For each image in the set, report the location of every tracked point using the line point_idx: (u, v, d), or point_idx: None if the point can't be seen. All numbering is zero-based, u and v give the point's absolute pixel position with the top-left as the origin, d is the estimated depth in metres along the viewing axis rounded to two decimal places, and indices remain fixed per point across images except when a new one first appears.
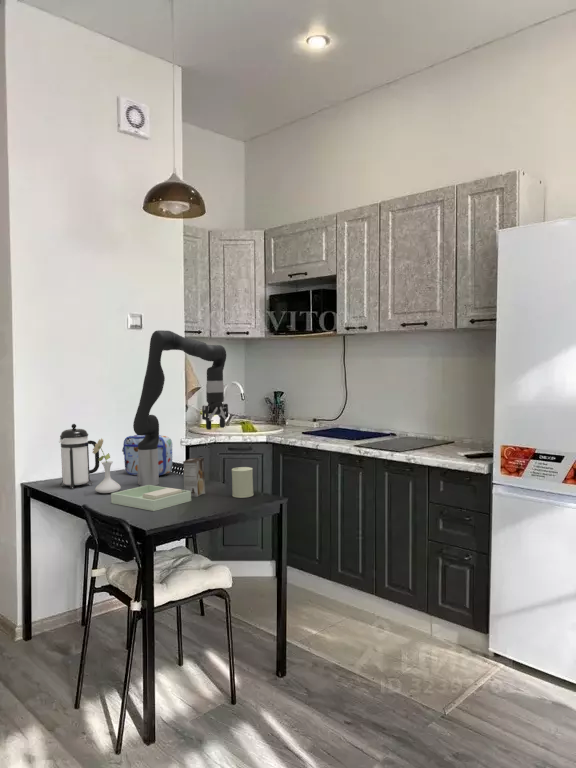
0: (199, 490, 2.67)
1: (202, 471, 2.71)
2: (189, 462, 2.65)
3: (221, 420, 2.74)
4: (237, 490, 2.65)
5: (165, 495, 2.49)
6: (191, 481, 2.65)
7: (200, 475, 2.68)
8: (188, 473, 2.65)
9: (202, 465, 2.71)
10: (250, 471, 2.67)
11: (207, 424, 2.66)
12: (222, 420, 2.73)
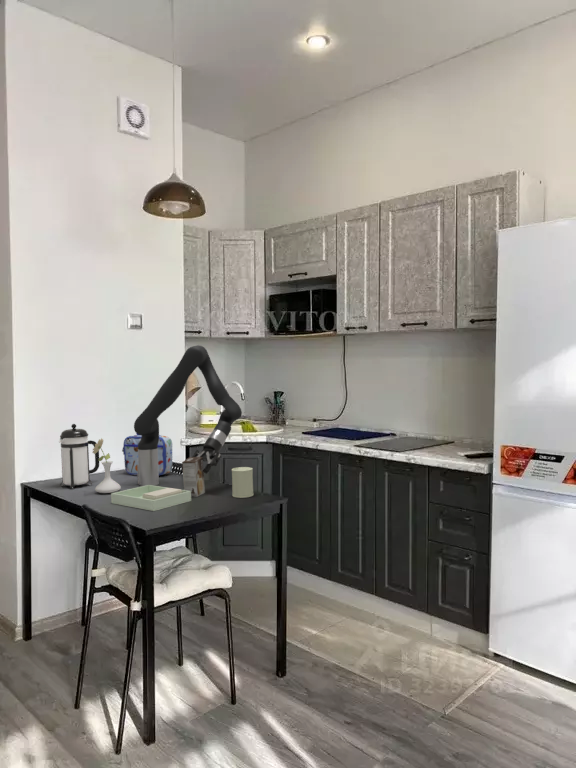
0: (199, 490, 2.67)
1: (201, 470, 2.70)
2: (188, 463, 2.64)
3: None
4: (237, 490, 2.65)
5: (165, 495, 2.49)
6: (191, 481, 2.65)
7: (199, 475, 2.67)
8: (187, 474, 2.65)
9: (201, 464, 2.70)
10: (250, 471, 2.67)
11: (209, 468, 2.70)
12: None
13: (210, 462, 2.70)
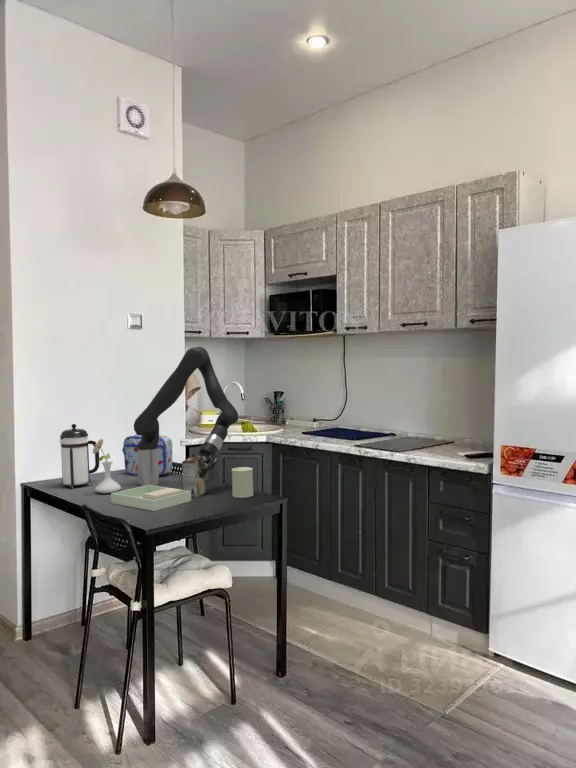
0: (199, 490, 2.66)
1: (201, 470, 2.70)
2: (188, 463, 2.64)
3: None
4: (237, 490, 2.65)
5: (165, 495, 2.49)
6: (190, 481, 2.64)
7: None
8: (187, 474, 2.64)
9: (201, 464, 2.69)
10: (250, 471, 2.67)
11: (205, 473, 2.68)
12: None
13: (206, 467, 2.68)
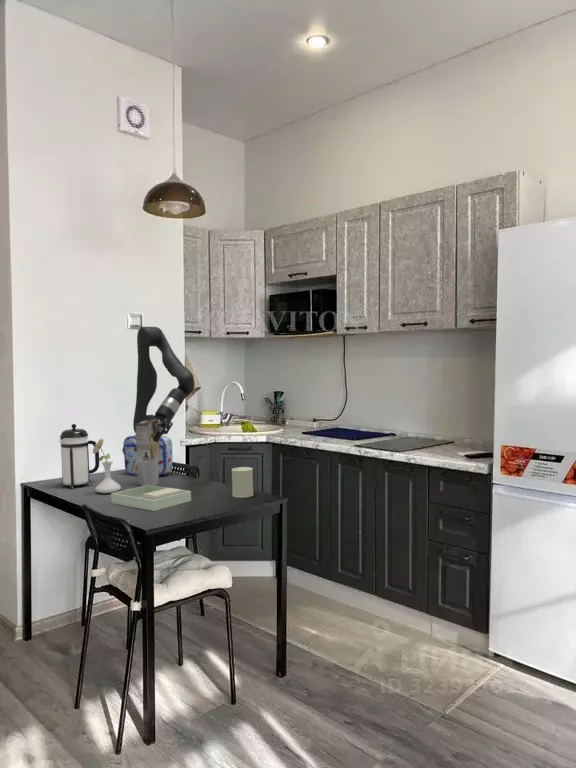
0: (153, 454, 2.58)
1: None
2: (141, 425, 2.55)
3: None
4: (237, 490, 2.65)
5: (165, 495, 2.49)
6: (144, 444, 2.56)
7: None
8: (140, 437, 2.56)
9: (156, 427, 2.61)
10: (250, 471, 2.67)
11: (159, 436, 2.59)
12: None
13: (161, 430, 2.60)
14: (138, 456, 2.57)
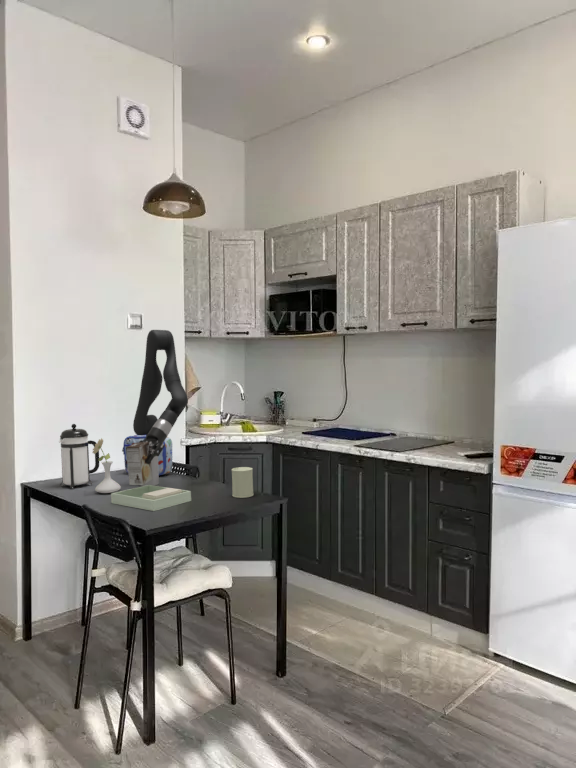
0: (144, 476, 2.56)
1: (147, 456, 2.60)
2: (132, 448, 2.54)
3: None
4: (237, 490, 2.65)
5: (165, 495, 2.49)
6: (135, 467, 2.55)
7: (144, 460, 2.57)
8: (131, 460, 2.54)
9: (147, 450, 2.60)
10: (250, 471, 2.67)
11: (151, 459, 2.58)
12: None
13: (152, 452, 2.58)
14: (130, 479, 2.56)
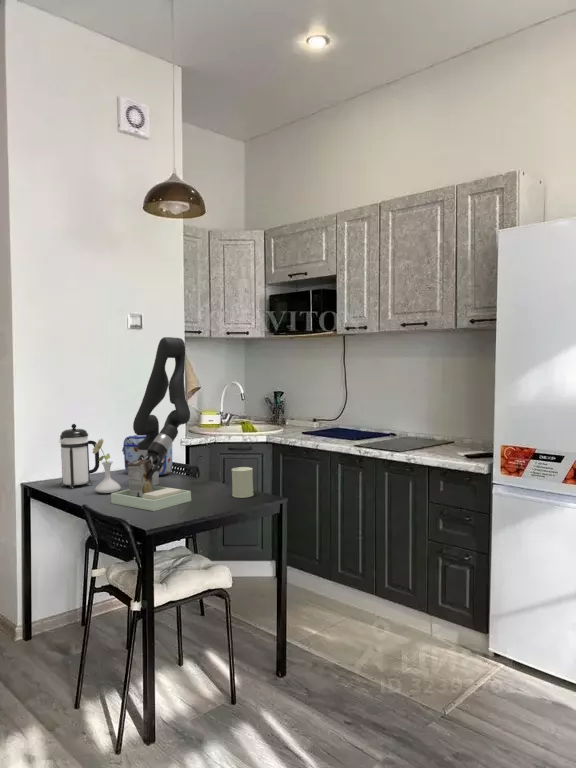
0: None
1: None
2: (133, 465, 2.55)
3: None
4: (237, 490, 2.65)
5: (165, 495, 2.49)
6: (136, 484, 2.55)
7: (145, 478, 2.57)
8: (133, 477, 2.55)
9: (149, 467, 2.60)
10: (250, 471, 2.67)
11: (151, 474, 2.58)
12: None
13: (153, 467, 2.59)
14: None
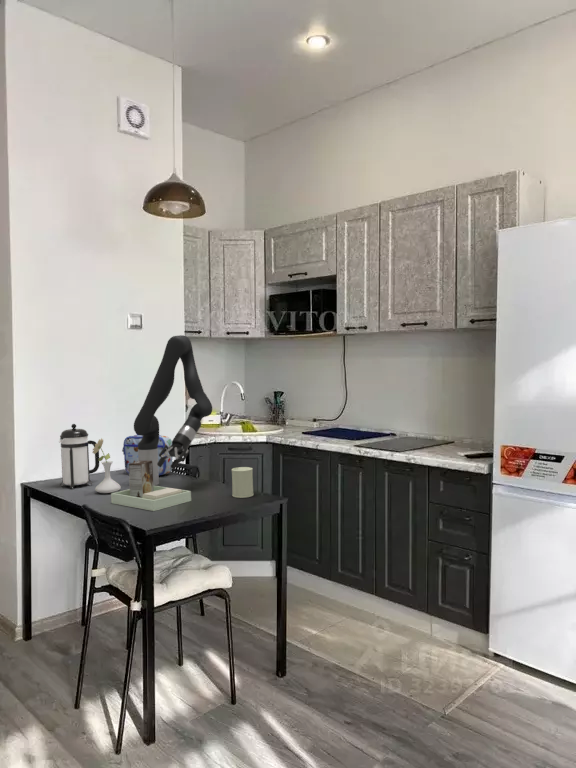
0: None
1: (150, 474, 2.61)
2: (134, 465, 2.56)
3: (162, 460, 2.75)
4: (237, 490, 2.65)
5: (165, 495, 2.49)
6: (137, 484, 2.56)
7: (146, 478, 2.58)
8: (133, 477, 2.56)
9: (150, 468, 2.61)
10: (250, 471, 2.67)
11: (176, 464, 2.69)
12: (163, 460, 2.76)
13: (178, 458, 2.70)
14: None
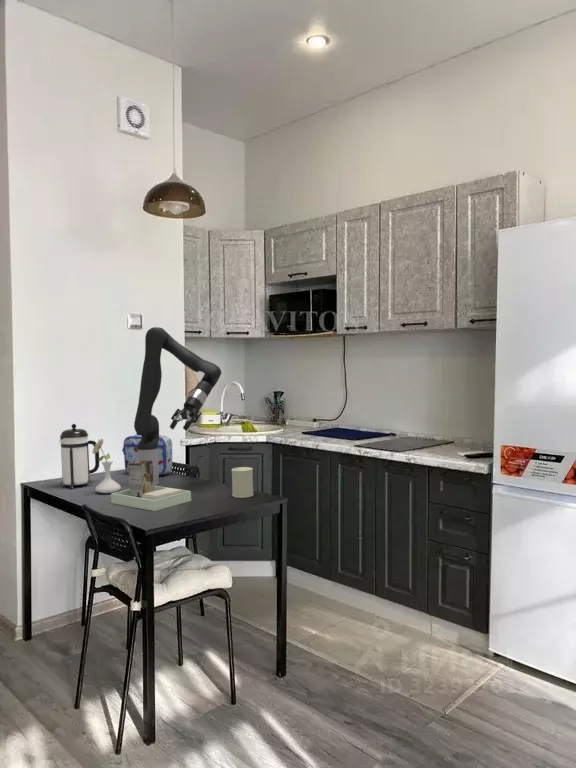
0: None
1: (150, 474, 2.61)
2: (134, 465, 2.56)
3: (175, 422, 2.81)
4: (237, 490, 2.65)
5: (165, 495, 2.49)
6: (137, 484, 2.56)
7: (146, 478, 2.58)
8: (133, 477, 2.56)
9: (150, 468, 2.61)
10: (250, 471, 2.67)
11: (189, 425, 2.75)
12: (176, 423, 2.81)
13: (190, 419, 2.75)
14: None
